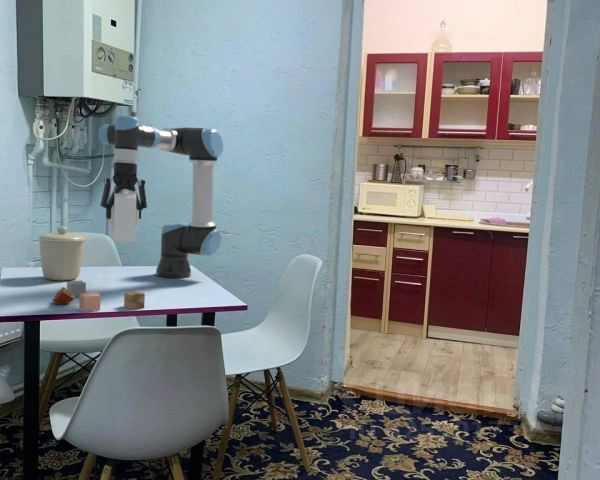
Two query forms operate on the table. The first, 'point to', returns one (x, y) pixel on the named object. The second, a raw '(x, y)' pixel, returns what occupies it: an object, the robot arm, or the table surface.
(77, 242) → the canister
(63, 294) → the fruit slice
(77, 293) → the slate grey block
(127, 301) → the walnut block
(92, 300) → the terracotta block
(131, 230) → the milk carton
